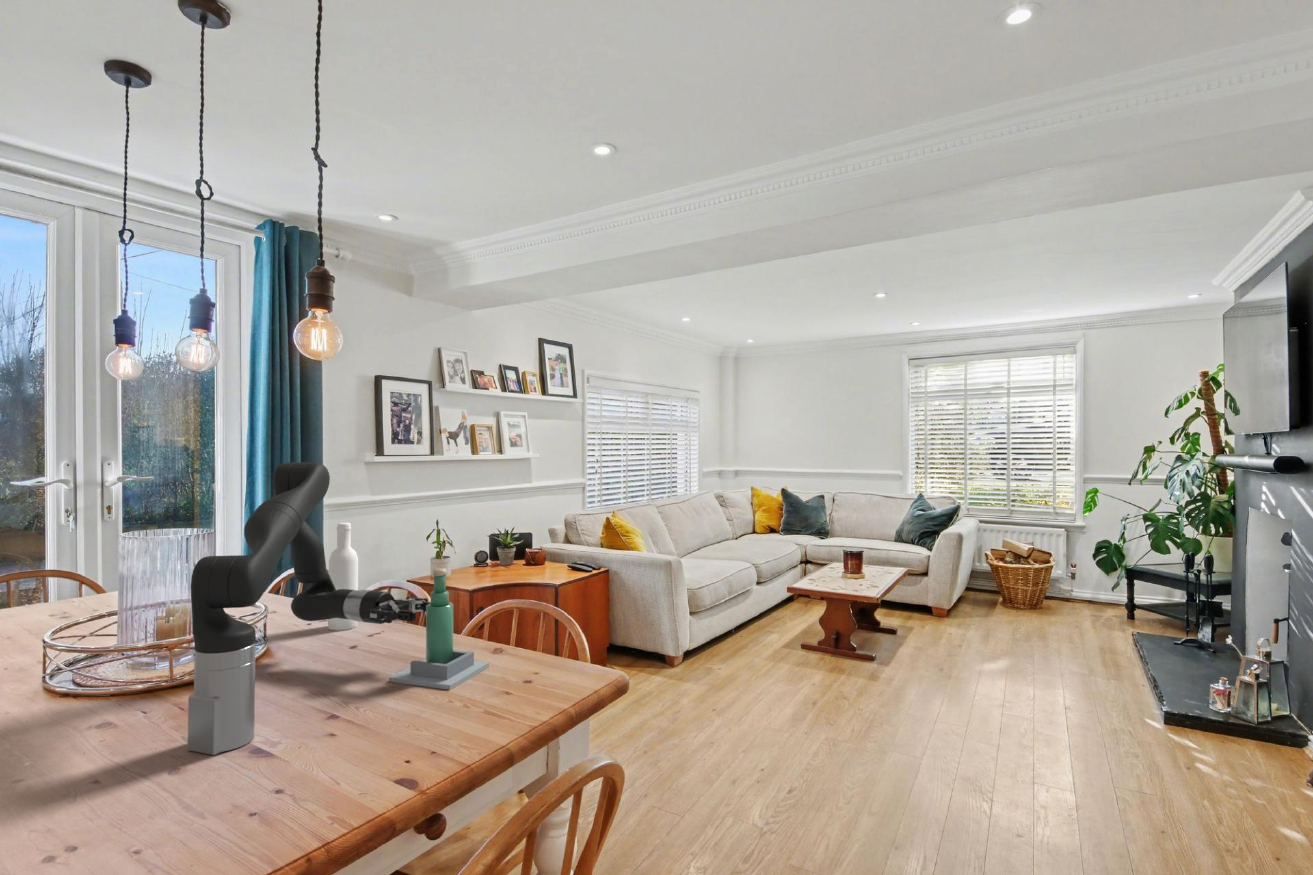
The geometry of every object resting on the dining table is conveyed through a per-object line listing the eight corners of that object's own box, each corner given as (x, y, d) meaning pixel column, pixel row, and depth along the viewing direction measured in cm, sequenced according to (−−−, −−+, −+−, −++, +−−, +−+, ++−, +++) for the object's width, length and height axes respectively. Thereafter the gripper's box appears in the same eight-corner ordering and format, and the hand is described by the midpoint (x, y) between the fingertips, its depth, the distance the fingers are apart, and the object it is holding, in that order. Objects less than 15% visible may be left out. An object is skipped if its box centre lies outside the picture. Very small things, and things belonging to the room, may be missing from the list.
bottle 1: (363, 624, 201) (364, 521, 201) (348, 631, 193) (349, 525, 193) (337, 623, 202) (338, 521, 202) (321, 630, 194) (323, 524, 194)
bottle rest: (450, 689, 149) (450, 671, 149) (388, 681, 153) (388, 663, 153) (489, 666, 164) (489, 650, 164) (431, 660, 169) (432, 643, 169)
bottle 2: (443, 675, 155) (443, 572, 155) (420, 672, 157) (420, 571, 157) (458, 666, 161) (458, 568, 161) (436, 664, 162) (436, 566, 162)
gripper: (347, 597, 158) (406, 602, 153) (389, 584, 172) (444, 589, 167) (347, 629, 158) (406, 636, 153) (388, 614, 172) (444, 620, 167)
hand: (426, 612), depth 160 cm, fingers open, 8 cm apart
